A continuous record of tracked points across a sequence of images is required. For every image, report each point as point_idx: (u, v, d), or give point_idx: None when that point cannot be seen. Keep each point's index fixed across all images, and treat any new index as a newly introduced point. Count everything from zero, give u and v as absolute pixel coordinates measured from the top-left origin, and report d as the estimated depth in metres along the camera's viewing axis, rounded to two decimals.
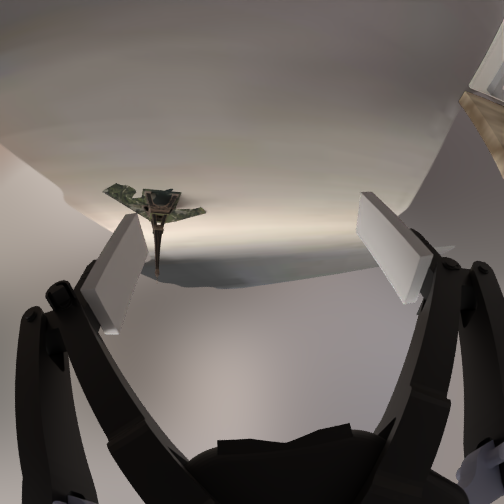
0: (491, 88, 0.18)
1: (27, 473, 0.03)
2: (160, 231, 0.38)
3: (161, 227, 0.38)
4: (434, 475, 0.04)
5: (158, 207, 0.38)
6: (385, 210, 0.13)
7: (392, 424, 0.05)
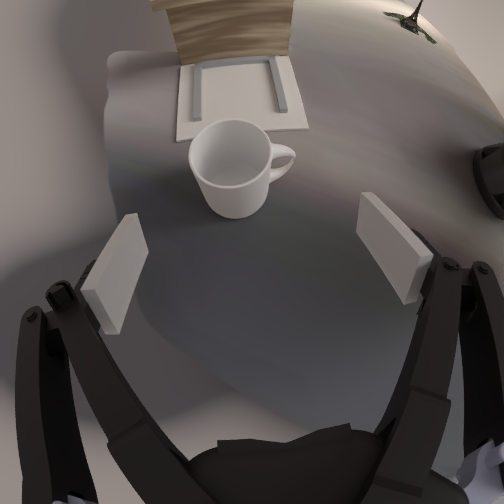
0: (275, 59, 0.41)
1: (27, 473, 0.03)
2: (414, 14, 0.41)
3: (413, 16, 0.42)
4: (434, 475, 0.04)
5: (412, 24, 0.44)
6: (385, 210, 0.13)
7: (392, 424, 0.05)
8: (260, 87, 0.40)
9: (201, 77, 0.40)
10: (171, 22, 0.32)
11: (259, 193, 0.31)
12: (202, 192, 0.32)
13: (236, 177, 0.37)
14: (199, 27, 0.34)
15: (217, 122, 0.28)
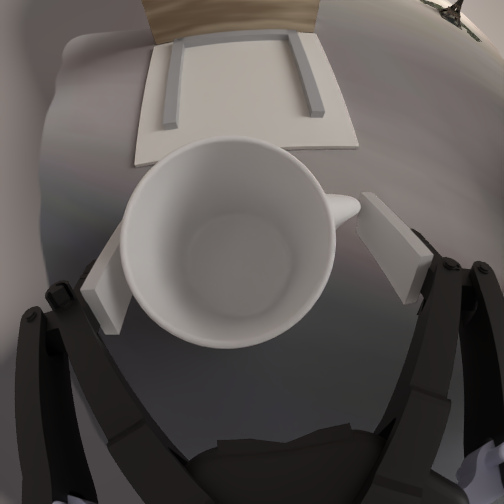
0: None
1: (27, 473, 0.03)
2: (457, 4, 0.25)
3: (456, 6, 0.26)
4: (434, 475, 0.04)
5: (455, 16, 0.29)
6: (385, 210, 0.13)
7: (392, 424, 0.05)
8: (276, 74, 0.24)
9: (182, 59, 0.24)
10: None
11: None
12: None
13: (236, 239, 0.21)
14: None
15: (185, 149, 0.11)
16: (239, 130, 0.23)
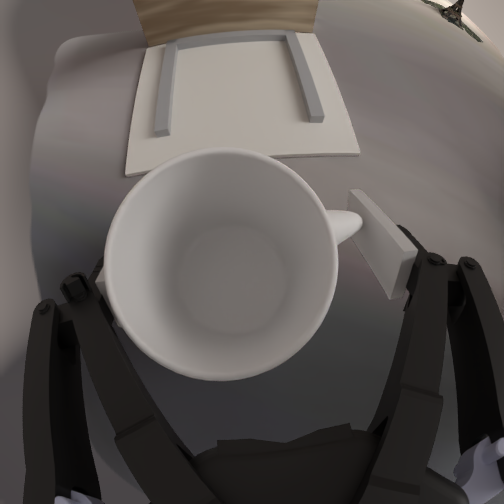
0: None
1: (31, 466, 0.04)
2: (458, 4, 0.25)
3: (457, 5, 0.25)
4: (434, 475, 0.04)
5: (456, 16, 0.28)
6: (372, 207, 0.13)
7: (384, 423, 0.06)
8: (273, 77, 0.23)
9: (175, 62, 0.23)
10: None
11: None
12: None
13: (230, 254, 0.20)
14: None
15: (173, 162, 0.10)
16: (234, 137, 0.22)
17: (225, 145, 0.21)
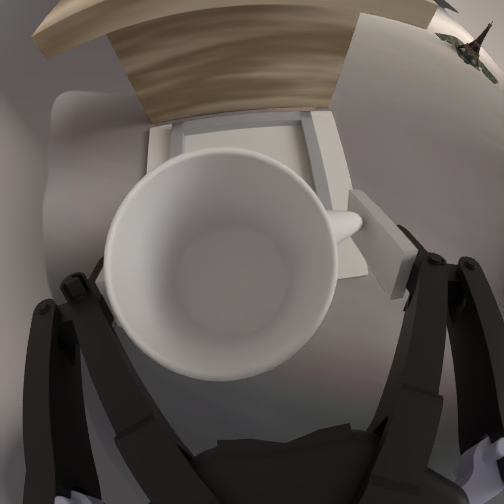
0: None
1: (31, 467, 0.04)
2: (477, 42, 0.27)
3: (476, 44, 0.27)
4: (434, 475, 0.04)
5: (473, 55, 0.30)
6: (372, 207, 0.13)
7: (384, 423, 0.06)
8: None
9: None
10: (120, 55, 0.17)
11: None
12: None
13: (230, 254, 0.20)
14: (174, 61, 0.19)
15: (173, 162, 0.10)
16: None
17: None
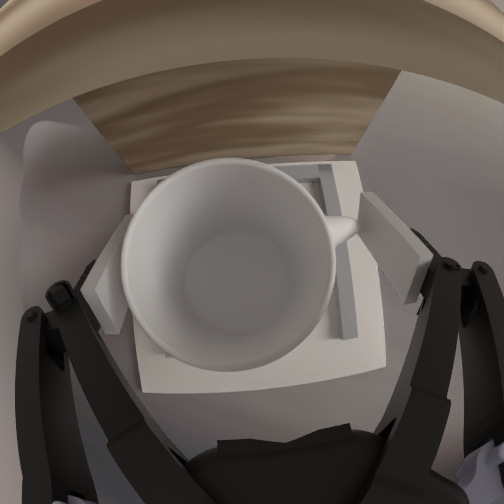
0: None
1: (27, 473, 0.03)
2: None
3: None
4: (434, 475, 0.04)
5: None
6: (385, 210, 0.13)
7: (392, 424, 0.05)
8: None
9: None
10: (79, 101, 0.13)
11: None
12: None
13: (235, 257, 0.21)
14: (153, 105, 0.15)
15: (185, 172, 0.11)
16: None
17: (246, 374, 0.20)
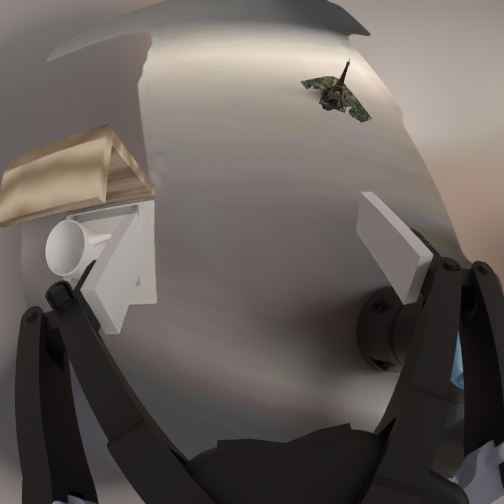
0: (137, 209, 0.46)
1: (27, 473, 0.03)
2: (338, 84, 0.46)
3: (337, 86, 0.47)
4: (434, 475, 0.04)
5: (336, 98, 0.49)
6: (385, 210, 0.13)
7: (392, 424, 0.05)
8: None
9: None
10: None
11: None
12: None
13: None
14: None
15: (59, 223, 0.35)
16: None
17: None
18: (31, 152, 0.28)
